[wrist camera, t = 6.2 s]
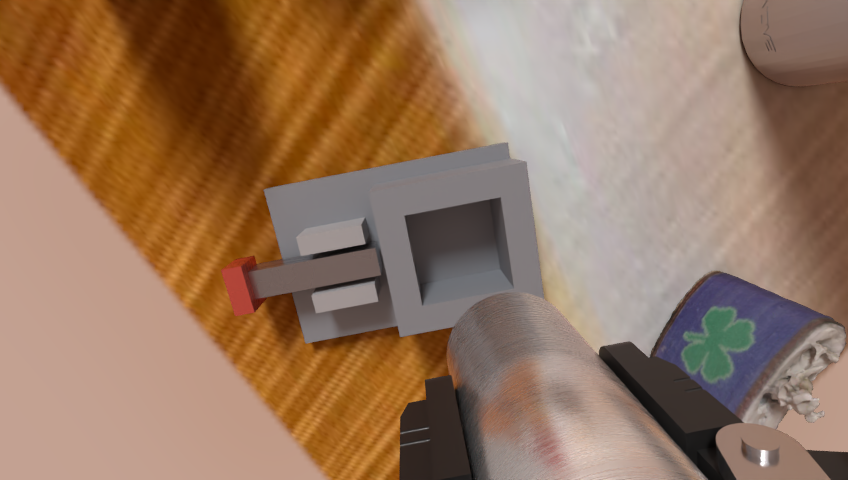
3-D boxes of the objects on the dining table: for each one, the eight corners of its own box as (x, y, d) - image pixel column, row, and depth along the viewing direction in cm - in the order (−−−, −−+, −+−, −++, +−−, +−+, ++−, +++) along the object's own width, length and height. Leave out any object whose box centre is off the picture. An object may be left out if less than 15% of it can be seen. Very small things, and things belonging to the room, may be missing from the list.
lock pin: (375, 232, 29) (372, 241, 26) (384, 275, 29) (382, 287, 27) (236, 258, 29) (221, 270, 26) (249, 301, 29) (235, 316, 27)
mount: (504, 142, 29) (523, 143, 24) (525, 295, 32) (547, 324, 27) (268, 187, 29) (241, 198, 25) (308, 337, 32) (291, 373, 27)
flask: (666, 380, 34) (782, 488, 24) (635, 365, 34) (739, 467, 23) (737, 278, 32) (896, 346, 22) (706, 261, 32) (851, 321, 21)
